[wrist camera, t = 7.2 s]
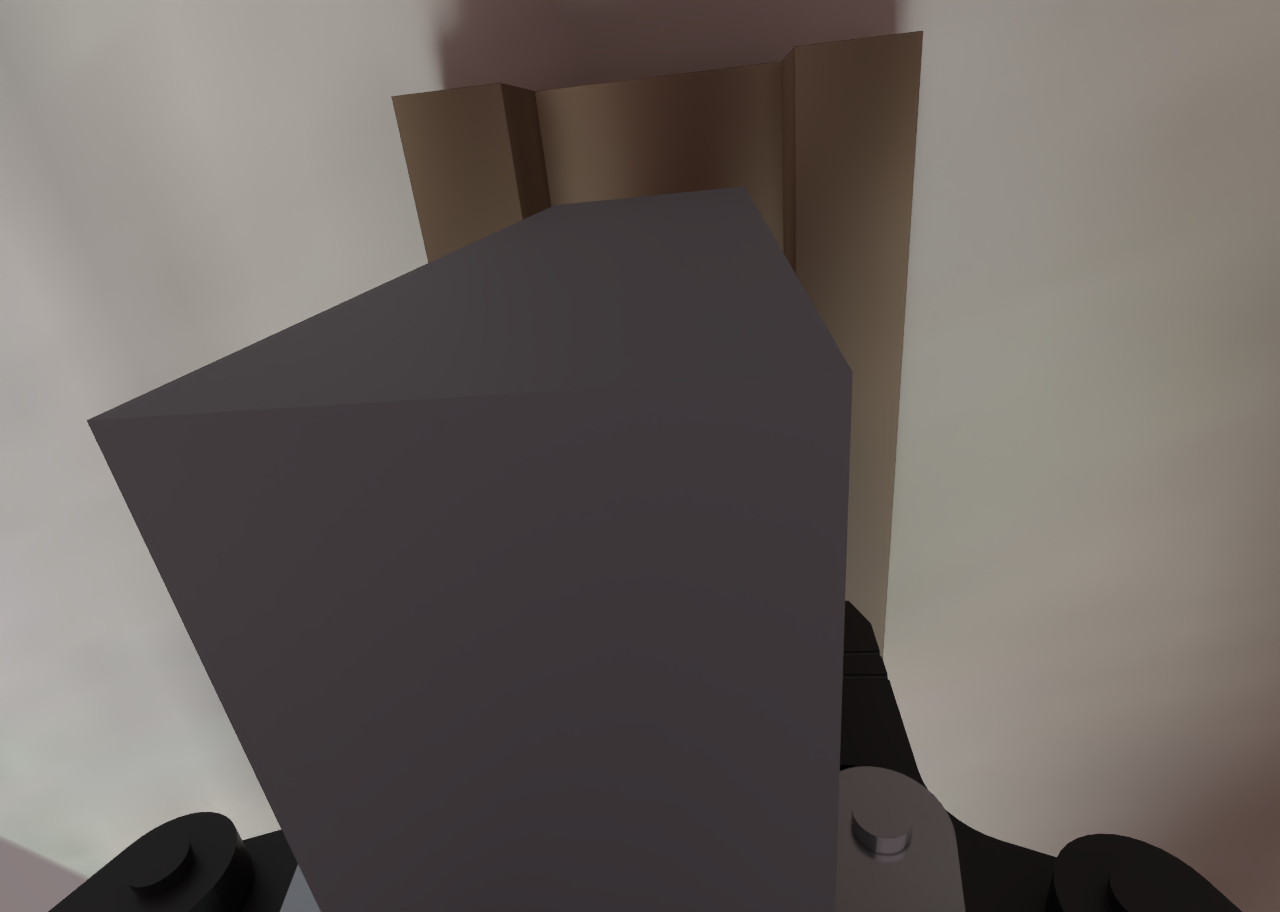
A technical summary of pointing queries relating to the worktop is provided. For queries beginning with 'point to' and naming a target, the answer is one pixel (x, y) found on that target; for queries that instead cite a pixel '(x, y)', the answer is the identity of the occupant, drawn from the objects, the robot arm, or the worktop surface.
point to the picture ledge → (715, 159)
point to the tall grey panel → (528, 568)
